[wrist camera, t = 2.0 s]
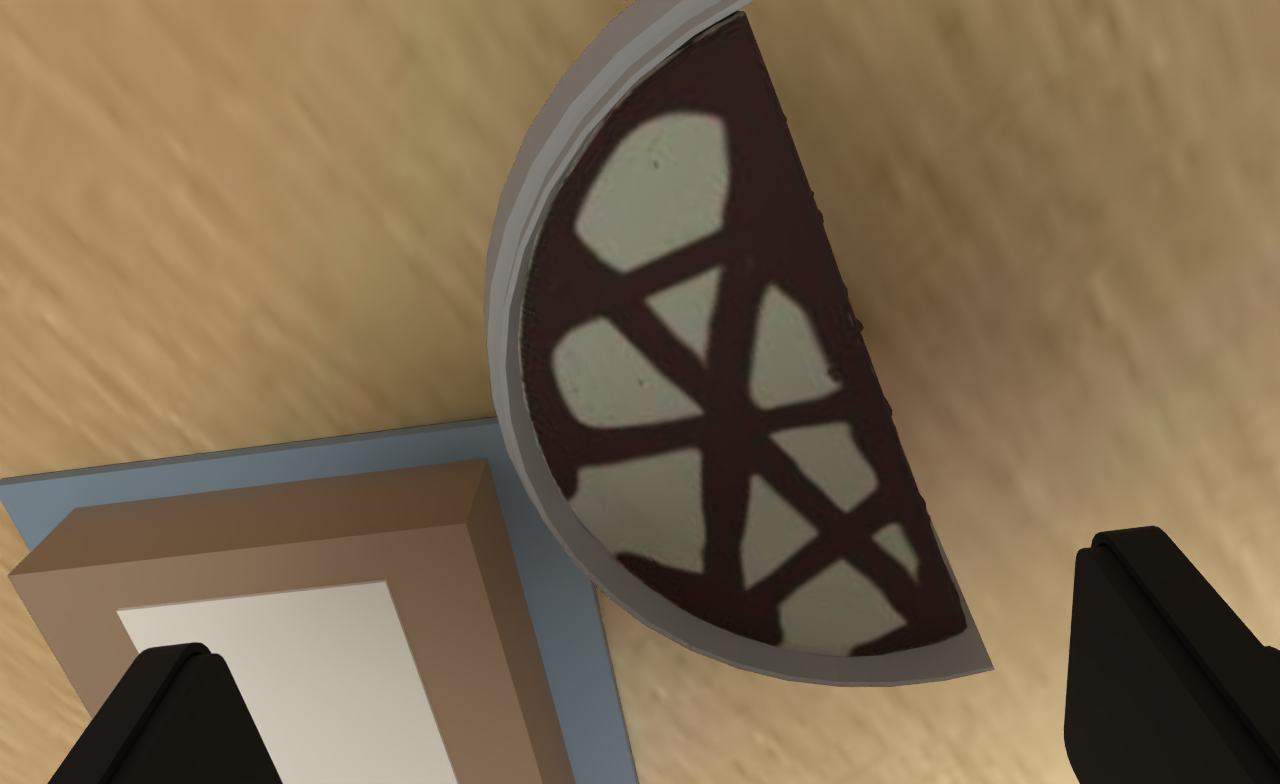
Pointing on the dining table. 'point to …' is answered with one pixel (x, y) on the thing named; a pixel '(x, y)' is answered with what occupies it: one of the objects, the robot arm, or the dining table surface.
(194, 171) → the dining table surface
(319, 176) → the dining table surface
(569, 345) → the food container
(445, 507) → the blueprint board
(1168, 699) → the robot arm
